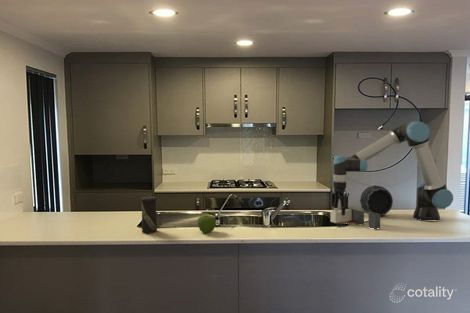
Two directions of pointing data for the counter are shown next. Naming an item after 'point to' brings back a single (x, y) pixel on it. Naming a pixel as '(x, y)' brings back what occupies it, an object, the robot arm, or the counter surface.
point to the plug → (347, 217)
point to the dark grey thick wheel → (376, 200)
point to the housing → (373, 218)
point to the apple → (206, 223)
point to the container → (149, 214)
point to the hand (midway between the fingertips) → (339, 219)
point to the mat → (347, 222)
